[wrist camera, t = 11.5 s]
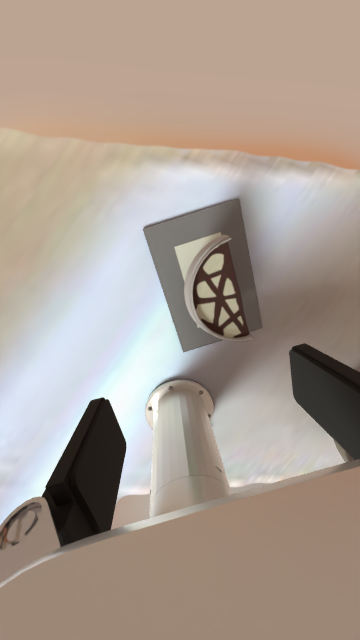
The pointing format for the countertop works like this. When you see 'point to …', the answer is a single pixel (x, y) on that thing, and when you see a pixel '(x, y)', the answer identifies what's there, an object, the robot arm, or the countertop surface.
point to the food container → (216, 293)
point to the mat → (178, 253)
